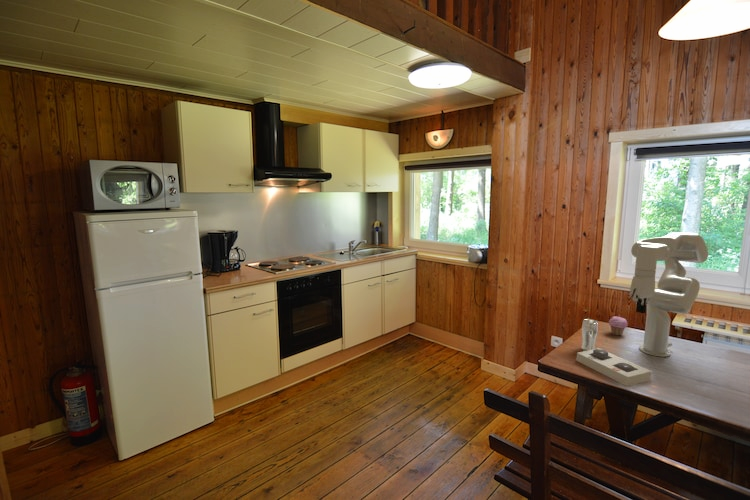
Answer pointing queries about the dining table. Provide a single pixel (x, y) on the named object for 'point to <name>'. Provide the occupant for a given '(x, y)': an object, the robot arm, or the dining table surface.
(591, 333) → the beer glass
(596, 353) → the button plain
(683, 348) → the dining table surface
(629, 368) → the button marked
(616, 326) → the cupcake
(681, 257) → the robot arm
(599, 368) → the button board
